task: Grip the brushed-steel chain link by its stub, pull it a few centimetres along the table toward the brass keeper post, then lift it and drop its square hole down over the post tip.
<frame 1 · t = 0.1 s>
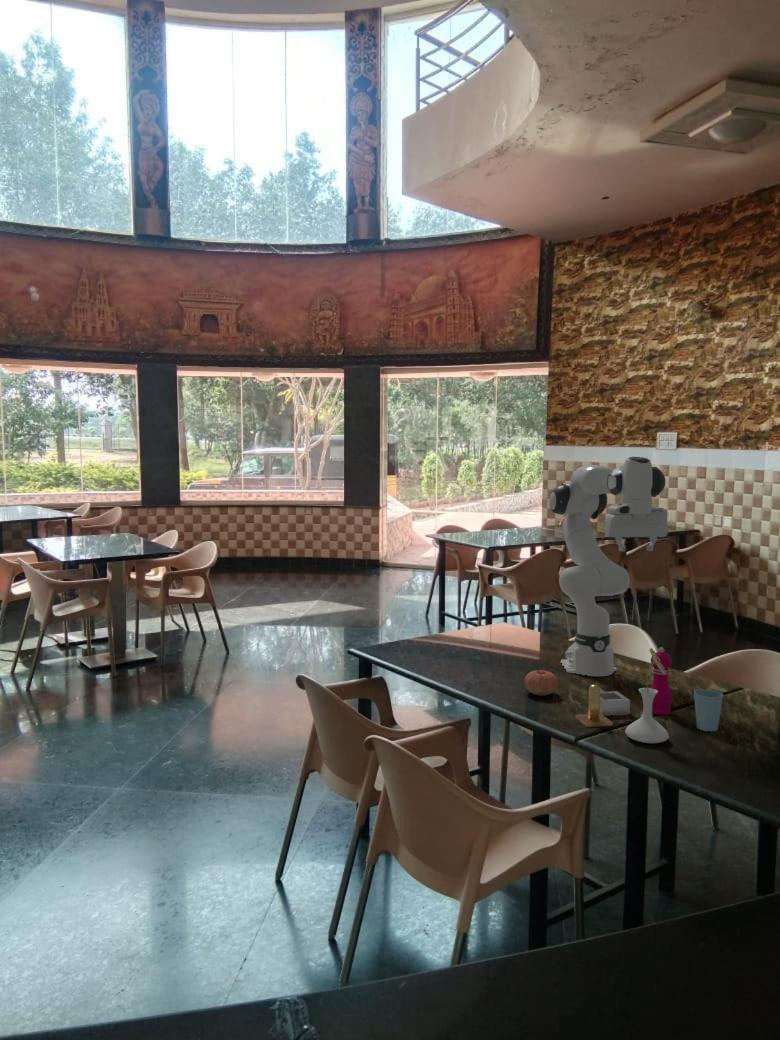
hand: (635, 551, 242), 48 cm above the table, tool pointing down, fingers open, 8 cm apart
orange pumpkin: (540, 694, 249), on the table
steel link: (609, 710, 233), on the table
pepper mill: (659, 712, 232), on the table
cup: (707, 729, 217), on the table
flower in vase: (647, 739, 209), on the table
keeper post: (593, 721, 223), on the table
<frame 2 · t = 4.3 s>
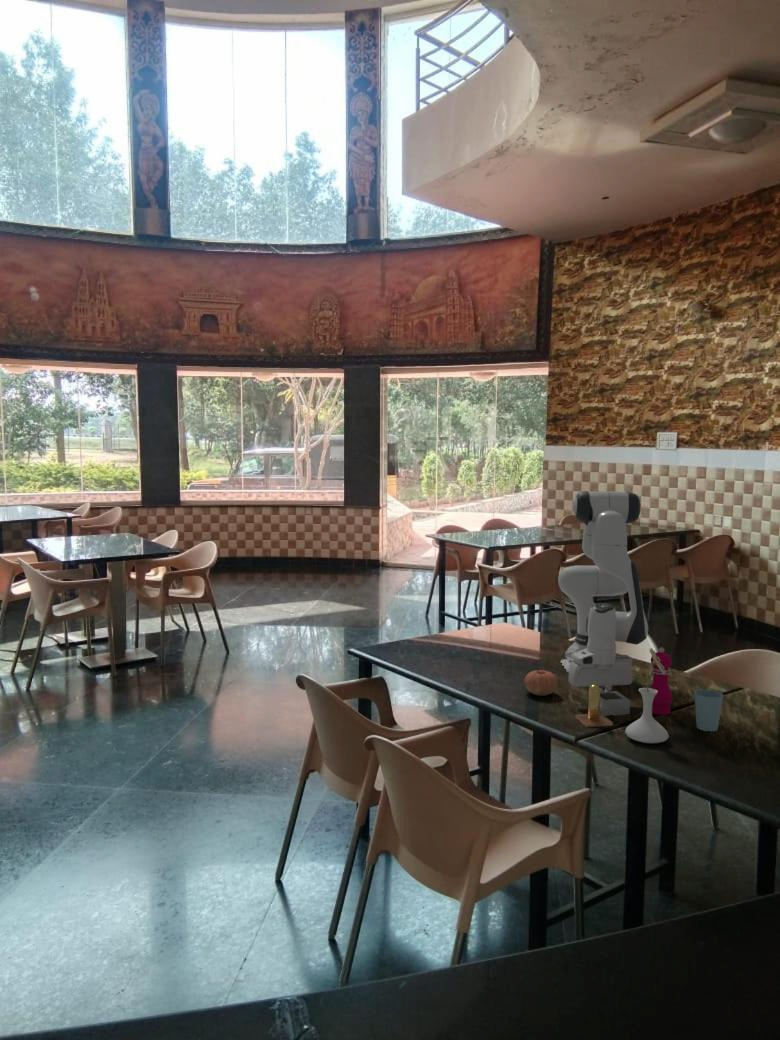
hand: (600, 698, 239), 2 cm above the table, tool pointing down, fingers closed on steel link
steel link: (609, 710, 233), on the table, touching gripper
everything else where it was.
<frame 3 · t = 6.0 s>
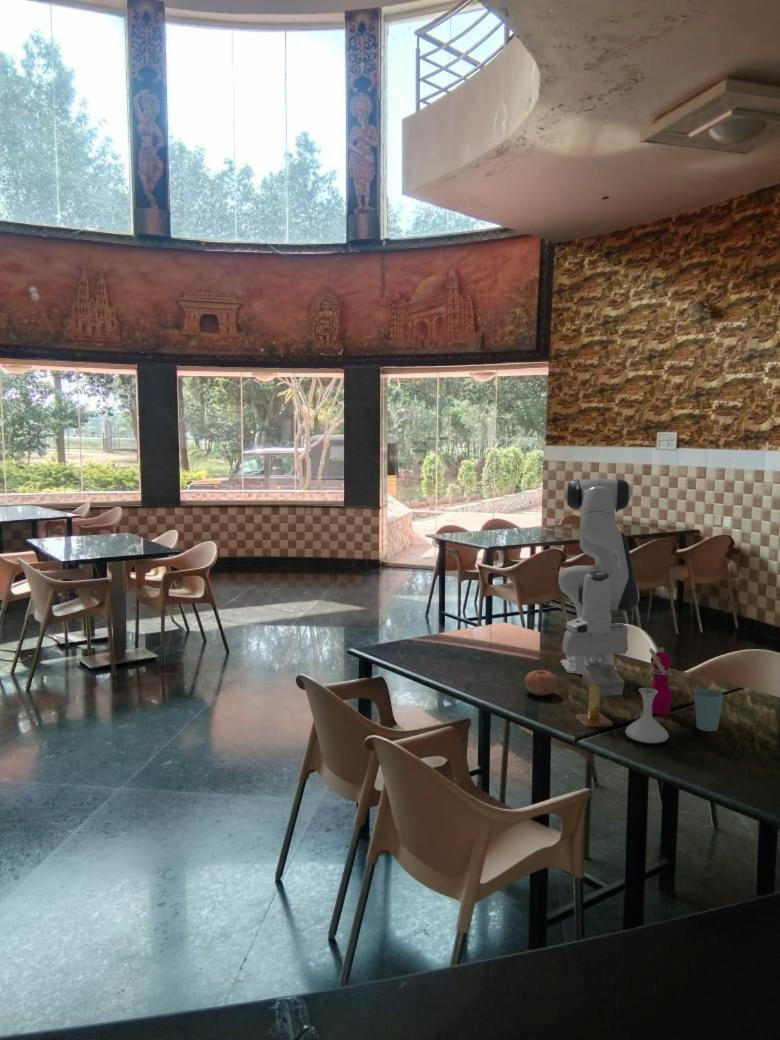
hand: (594, 668, 235), 12 cm above the table, tool pointing down, fingers closed on steel link
steel link: (601, 686, 230), point 8 cm above the table, tilted 20°, touching gripper
everything else where it was.
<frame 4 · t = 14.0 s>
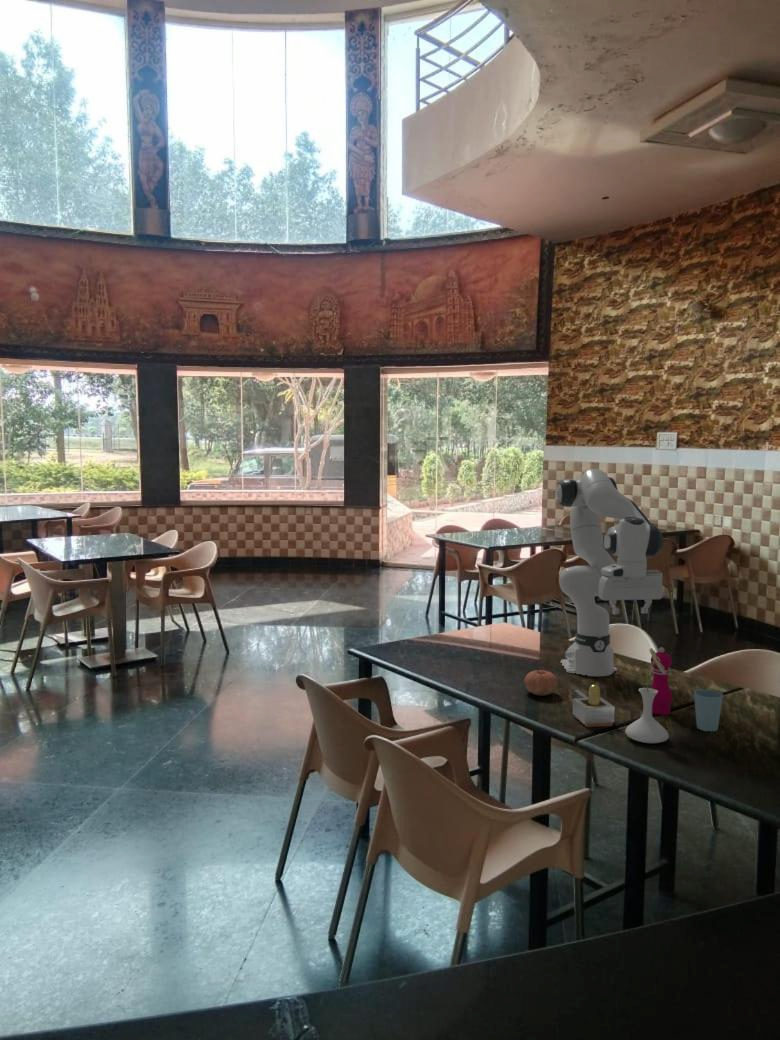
hand: (630, 613, 236), 29 cm above the table, tool pointing down, fingers open, 8 cm apart
steel link: (592, 717, 223), point 1 cm above the table, touching keeper post
everything else where it was.
at the end: steel link 0.7 cm off-centre on the keeper post, point 1.0 cm above the keeper post's base; the gripper is holding nothing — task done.
